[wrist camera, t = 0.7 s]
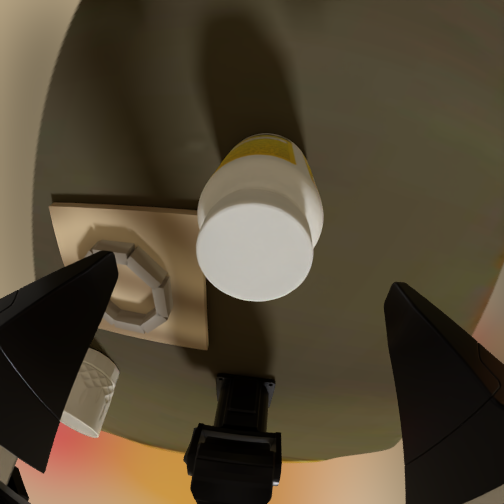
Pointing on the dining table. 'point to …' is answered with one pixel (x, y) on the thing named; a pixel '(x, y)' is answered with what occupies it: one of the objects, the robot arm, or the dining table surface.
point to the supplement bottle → (259, 220)
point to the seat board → (157, 242)
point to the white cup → (91, 394)
